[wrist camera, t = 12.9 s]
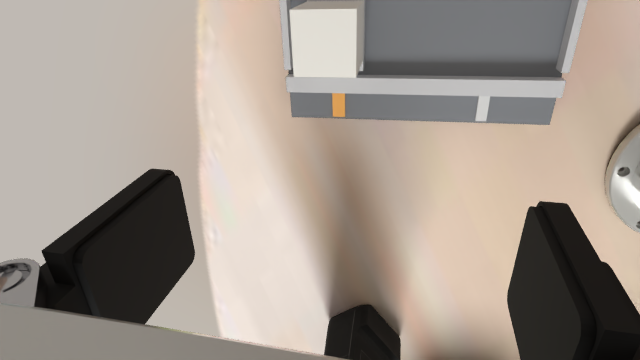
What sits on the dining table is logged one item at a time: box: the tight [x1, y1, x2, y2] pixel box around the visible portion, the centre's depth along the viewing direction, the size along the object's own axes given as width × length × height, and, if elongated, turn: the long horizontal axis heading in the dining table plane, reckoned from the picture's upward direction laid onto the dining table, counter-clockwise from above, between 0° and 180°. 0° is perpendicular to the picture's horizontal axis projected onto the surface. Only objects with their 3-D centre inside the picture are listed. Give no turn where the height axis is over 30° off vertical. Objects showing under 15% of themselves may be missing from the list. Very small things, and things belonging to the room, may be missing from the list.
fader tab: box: [289, 0, 366, 78], centre depth 28 cm, size 4×6×6 cm
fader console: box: [279, 0, 588, 125], centre depth 30 cm, size 20×14×3 cm
